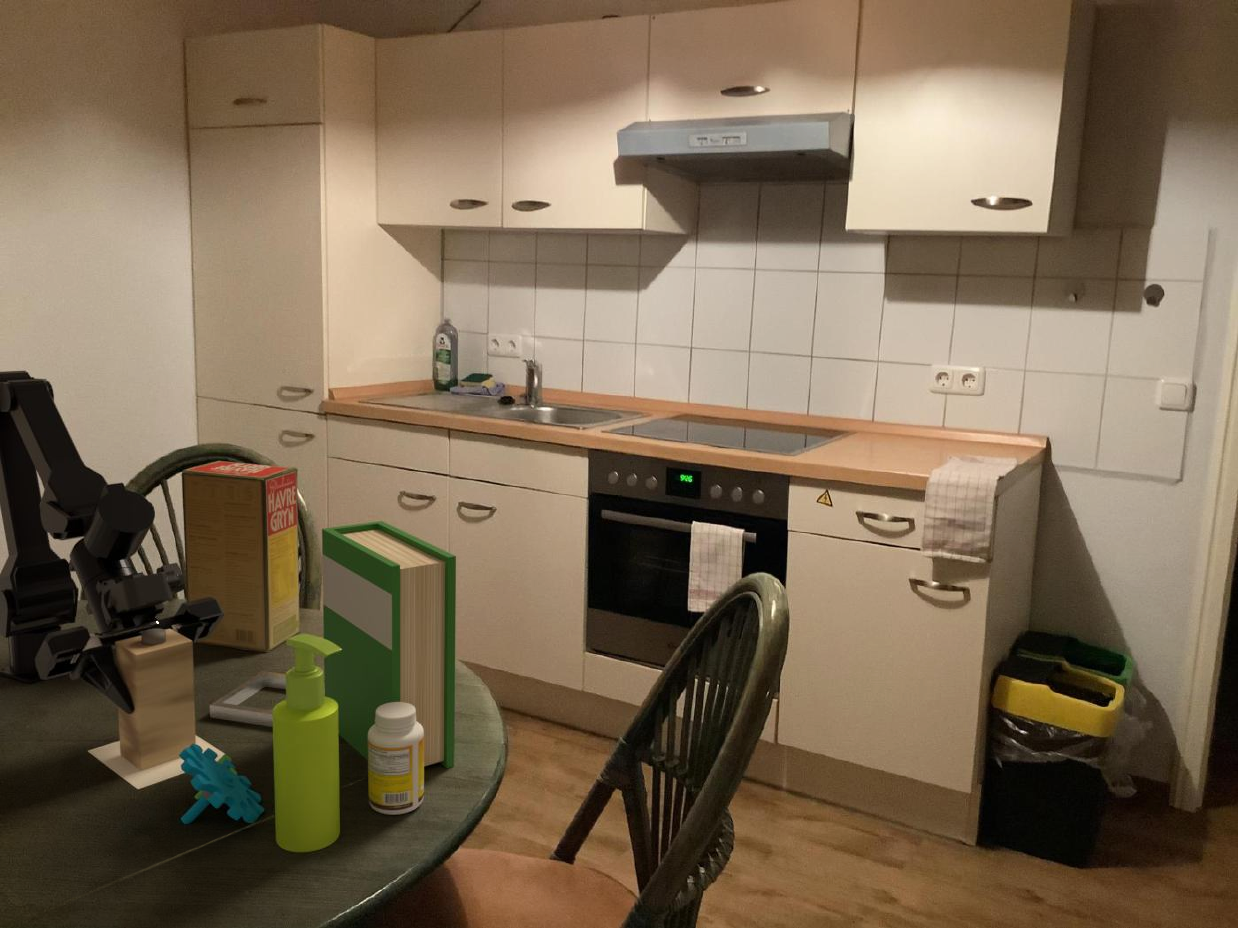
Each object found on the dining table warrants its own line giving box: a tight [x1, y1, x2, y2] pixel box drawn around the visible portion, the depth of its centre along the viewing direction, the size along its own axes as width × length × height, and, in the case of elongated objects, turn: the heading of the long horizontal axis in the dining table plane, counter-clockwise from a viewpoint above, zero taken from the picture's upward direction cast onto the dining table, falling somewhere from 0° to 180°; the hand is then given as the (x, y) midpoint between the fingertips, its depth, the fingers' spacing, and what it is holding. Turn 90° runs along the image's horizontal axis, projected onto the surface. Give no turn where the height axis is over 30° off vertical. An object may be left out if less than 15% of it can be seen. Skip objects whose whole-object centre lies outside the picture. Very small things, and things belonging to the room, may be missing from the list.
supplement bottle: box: [367, 702, 425, 816], centre depth 103 cm, size 6×6×10 cm
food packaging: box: [180, 460, 301, 653], centre depth 146 cm, size 13×9×25 cm
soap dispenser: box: [272, 633, 342, 853], centre depth 96 cm, size 6×7×20 cm
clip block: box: [114, 629, 197, 771], centre depth 111 cm, size 5×6×14 cm
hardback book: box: [321, 520, 457, 769], centre depth 115 cm, size 18×7×24 cm, turn 39°
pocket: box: [209, 670, 325, 728], centre depth 125 cm, size 11×11×2 cm
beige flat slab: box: [87, 734, 225, 790], centre depth 112 cm, size 12×10×1 cm
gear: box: [179, 743, 265, 825], centre depth 100 cm, size 11×6×10 cm
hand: (161, 703), depth 110 cm, fingers closed on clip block, 6 cm apart
